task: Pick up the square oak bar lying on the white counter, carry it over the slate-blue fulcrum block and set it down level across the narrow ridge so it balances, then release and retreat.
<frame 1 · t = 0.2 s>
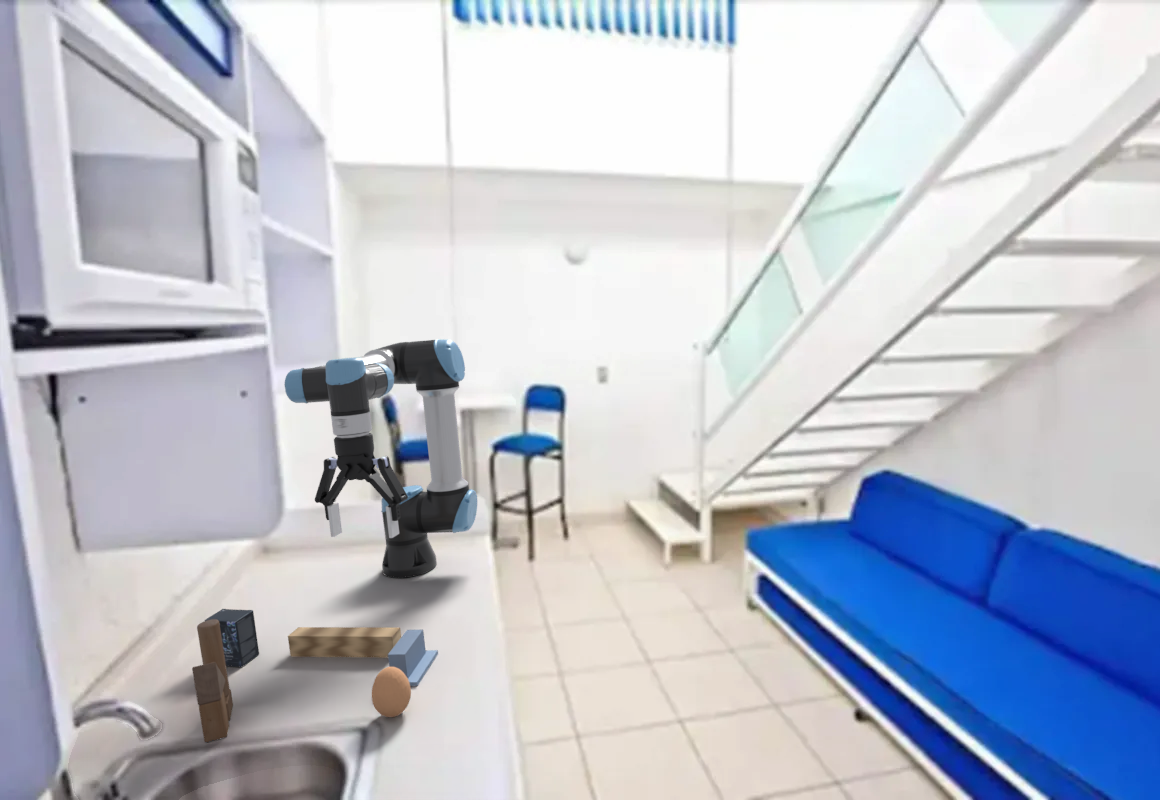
hand: (365, 535, 135), 27 cm above the worktop, fingers open, 13 cm apart
wooden block: (219, 725, 119), on the worktop
fulcrum: (409, 669, 133), on the worktop
egg: (394, 715, 118), on the worktop
box: (236, 661, 142), on the worktop
oak bar: (346, 653, 142), on the worktop
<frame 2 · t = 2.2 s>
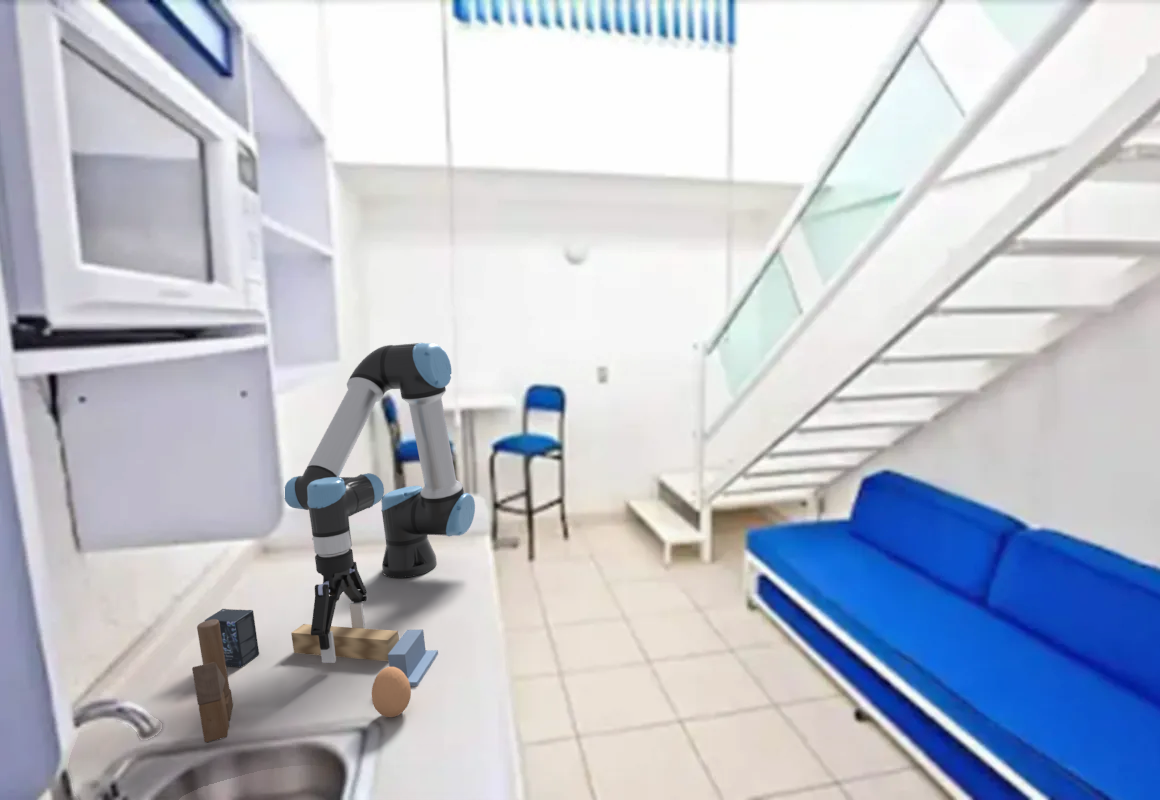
hand: (344, 645, 142), 2 cm above the worktop, fingers open, 13 cm apart
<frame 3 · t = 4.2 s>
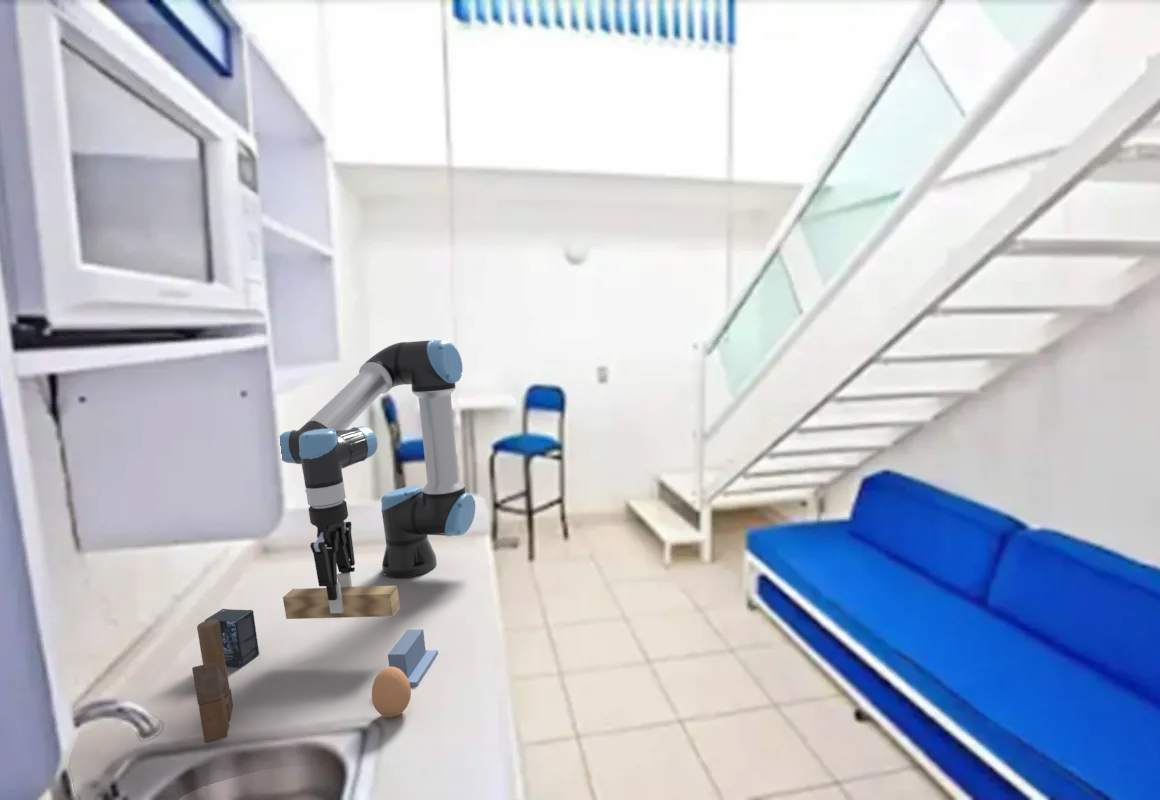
hand: (342, 606, 141), 10 cm above the worktop, fingers closed on oak bar, 4 cm apart
oak bar: (343, 613, 142), point 9 cm above the worktop, touching gripper
everything else where it was.
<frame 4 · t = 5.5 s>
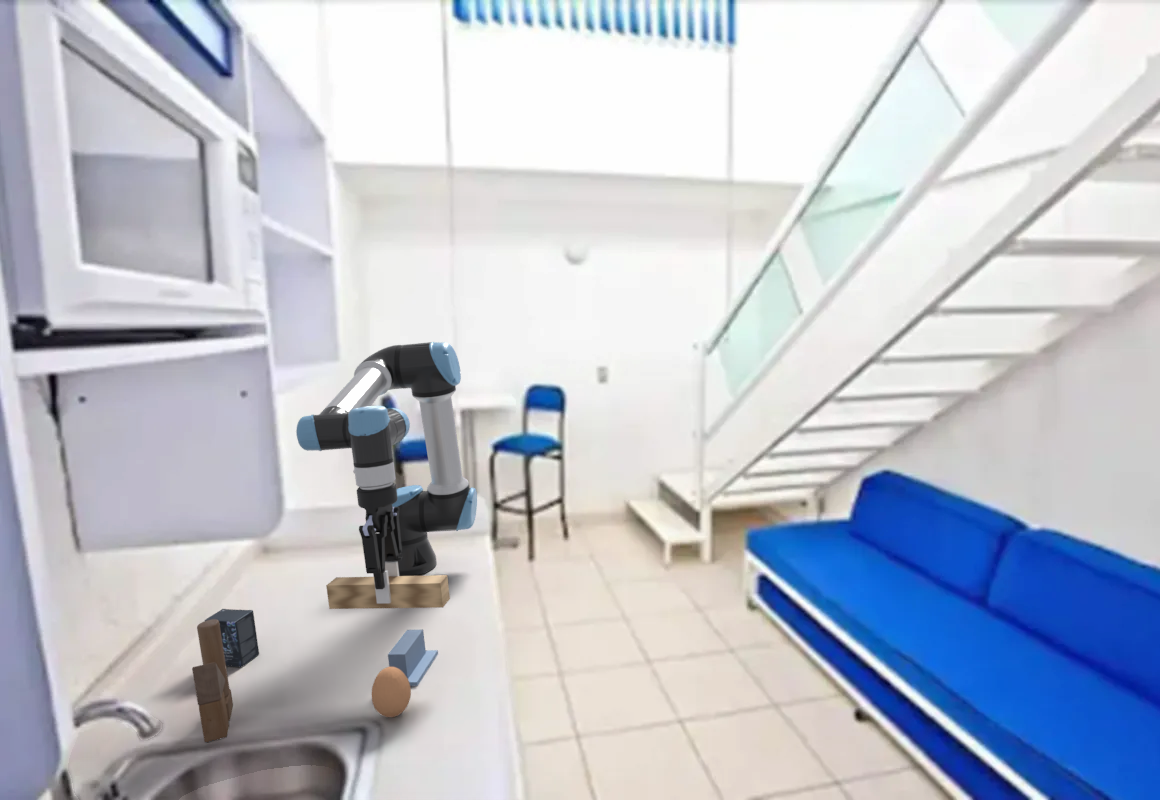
hand: (389, 597, 132), 15 cm above the worktop, fingers closed on oak bar, 4 cm apart
oak bar: (389, 603, 132), point 14 cm above the worktop, touching gripper
everything else where it was.
when the fingers open (7 cm above the worktop, at t = 7.1 s): oak bar stays where it is, resting on fulcrum.
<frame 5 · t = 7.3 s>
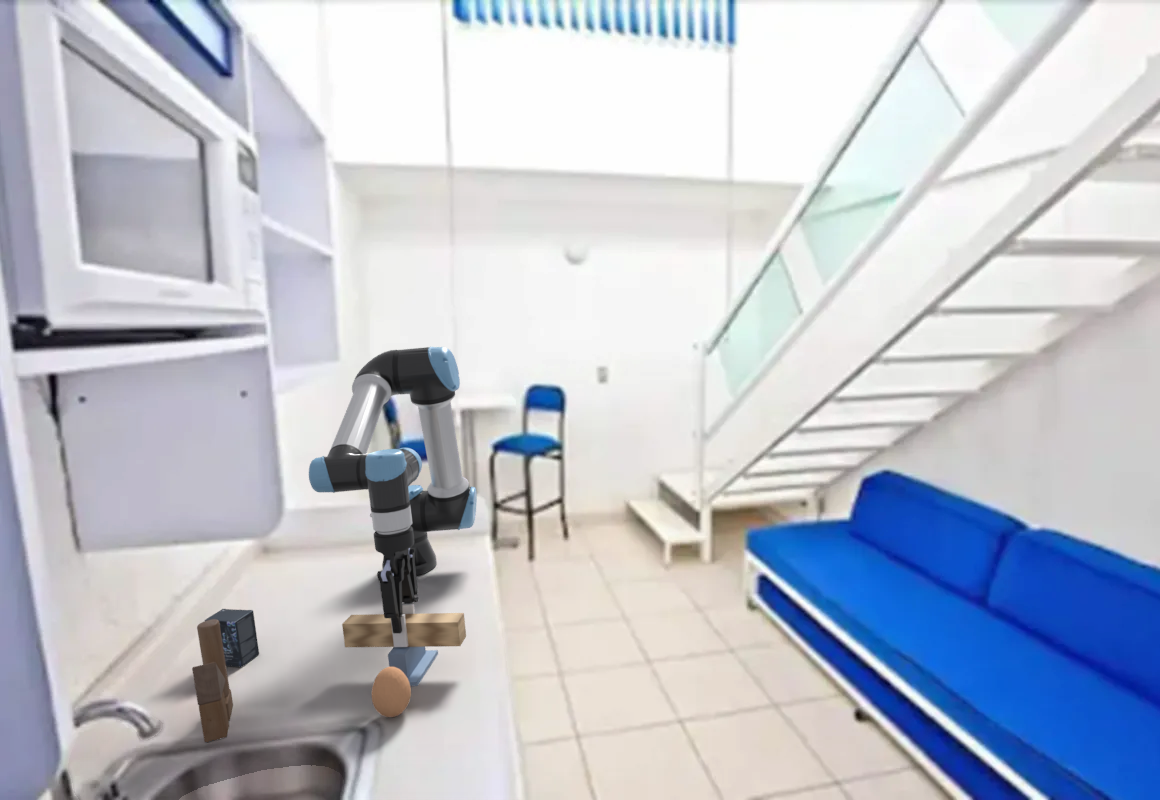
hand: (405, 639, 132), 6 cm above the worktop, fingers open, 4 cm apart
oak bar: (405, 641, 132), point 6 cm above the worktop, touching fulcrum, gripper
everything else where it was.
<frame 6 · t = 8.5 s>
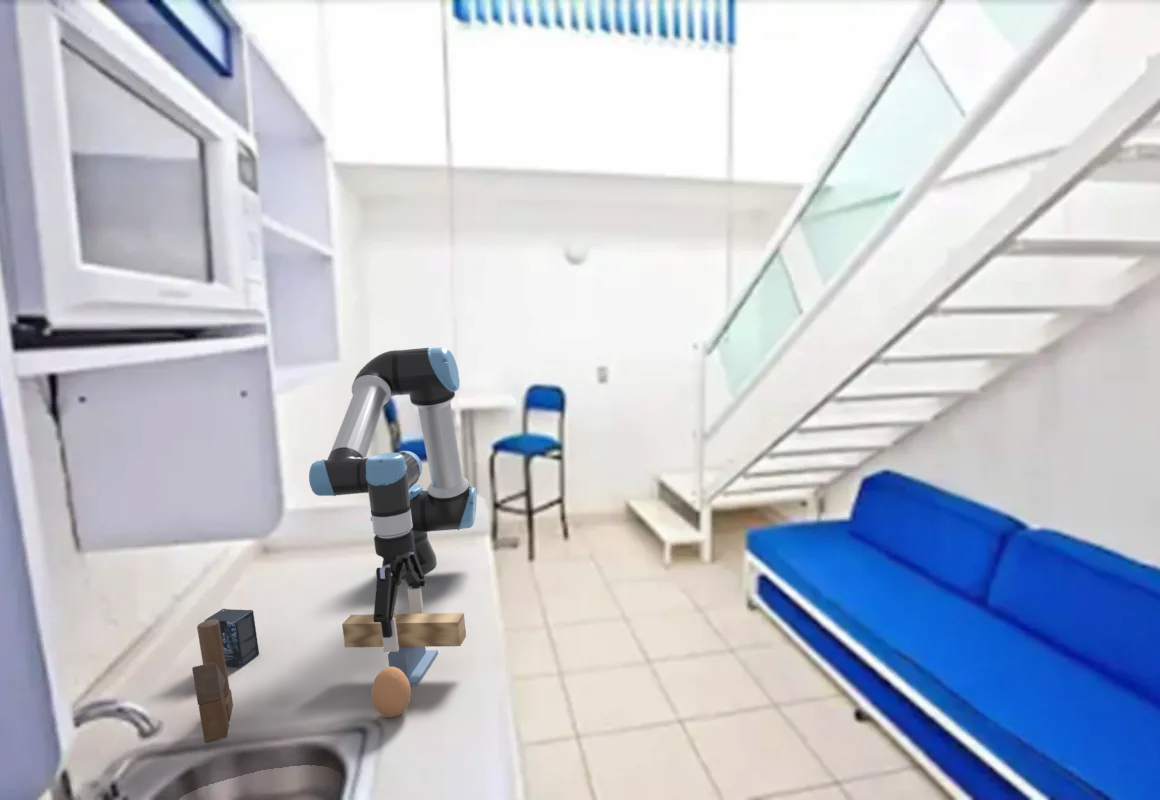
hand: (405, 633, 132), 8 cm above the worktop, fingers open, 13 cm apart
oak bar: (405, 641, 132), point 6 cm above the worktop, touching fulcrum
everything else where it was.
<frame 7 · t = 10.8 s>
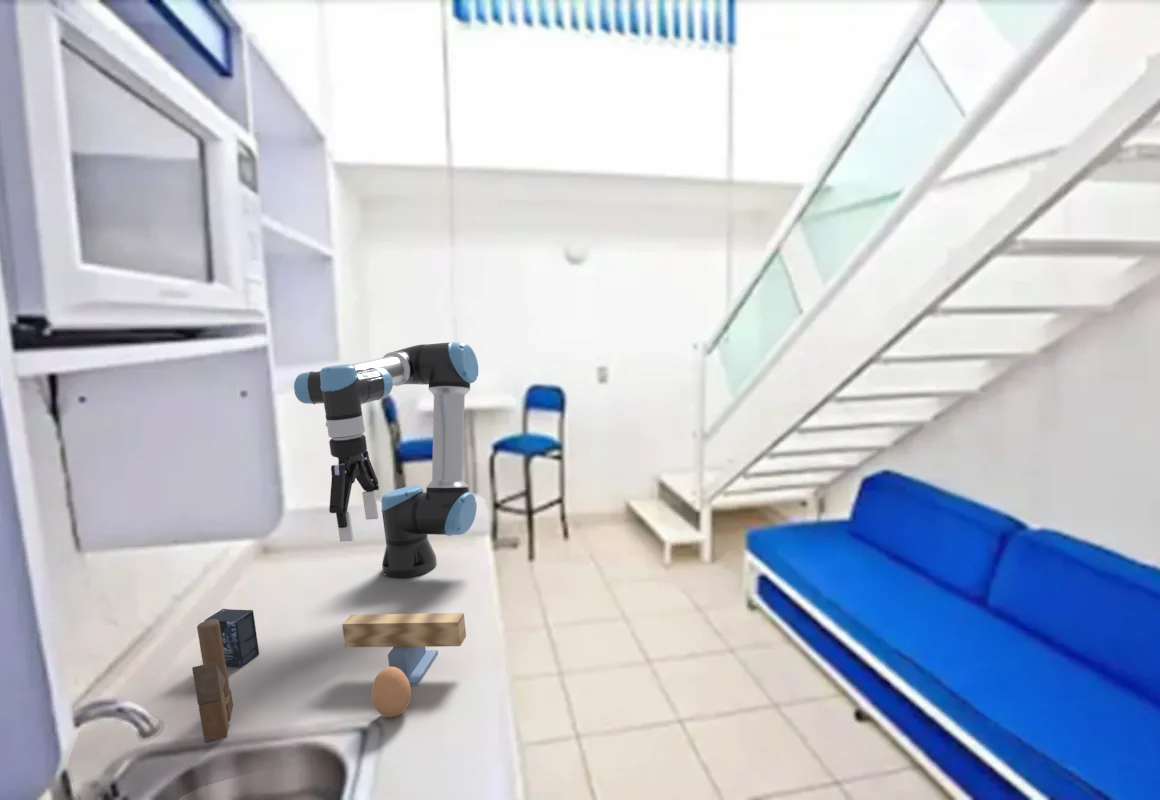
hand: (360, 529, 146), 25 cm above the worktop, fingers open, 13 cm apart
nothing on the worktop moved.
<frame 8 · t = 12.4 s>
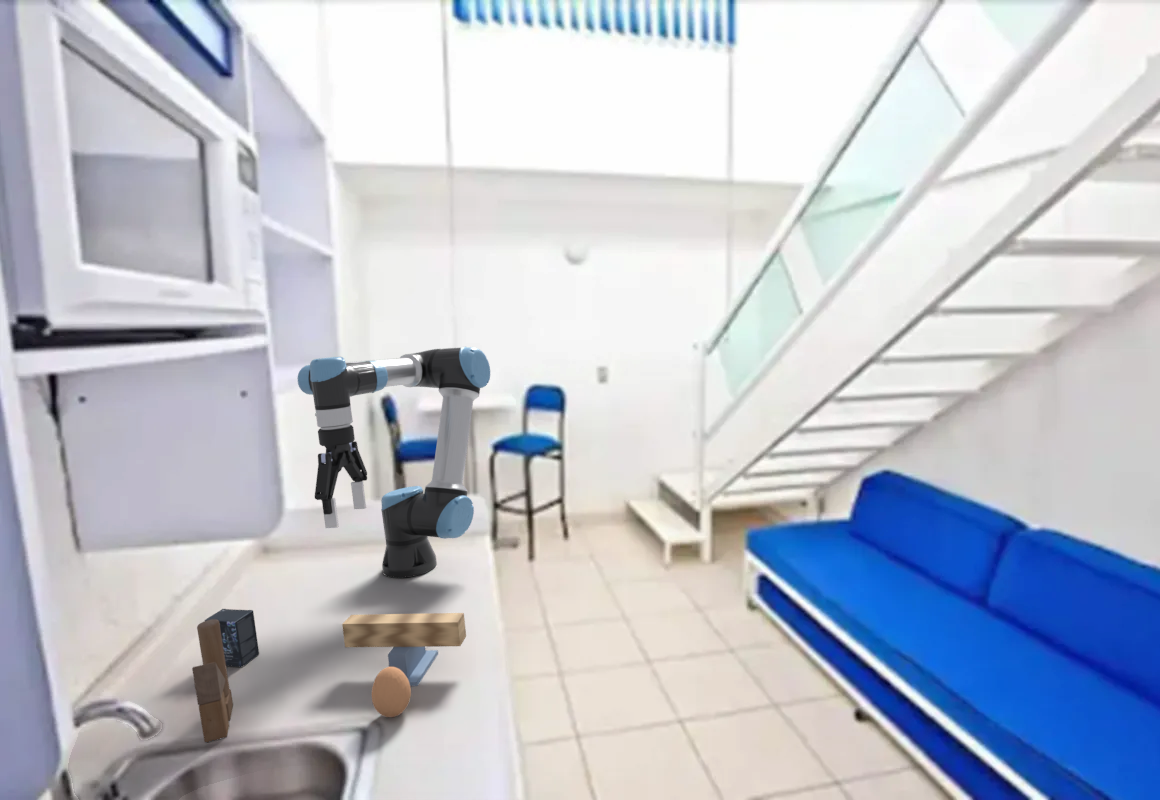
hand: (346, 517, 150), 27 cm above the worktop, fingers open, 13 cm apart
nothing on the worktop moved.
at the end: oak bar inside the target area on the fulcrum (0.1 cm from its centre), point 6.0 cm above the fulcrum's base; oak bar tilted 0°; oak bar touching fulcrum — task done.
